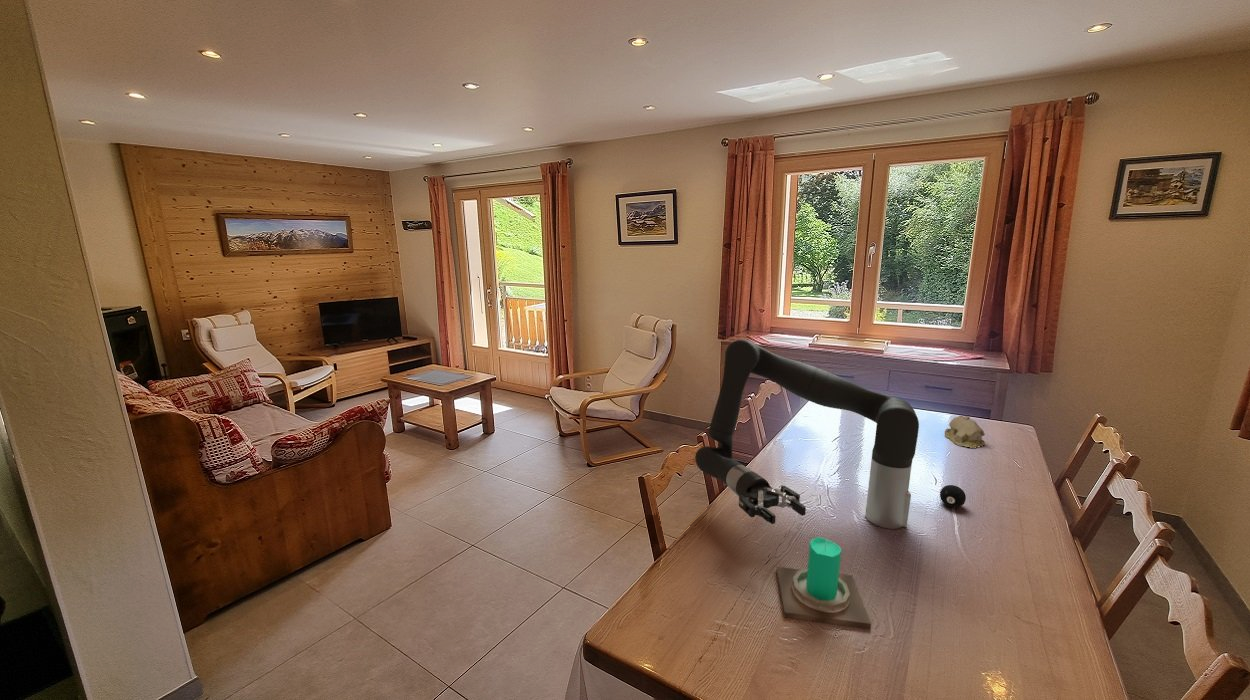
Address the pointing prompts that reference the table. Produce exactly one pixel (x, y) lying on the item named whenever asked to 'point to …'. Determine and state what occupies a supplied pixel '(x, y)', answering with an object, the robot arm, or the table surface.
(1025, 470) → the table surface
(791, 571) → the holder
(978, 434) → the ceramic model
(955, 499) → the billiard ball
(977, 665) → the table surface
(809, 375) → the robot arm
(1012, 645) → the table surface
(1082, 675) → the table surface
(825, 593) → the candle
